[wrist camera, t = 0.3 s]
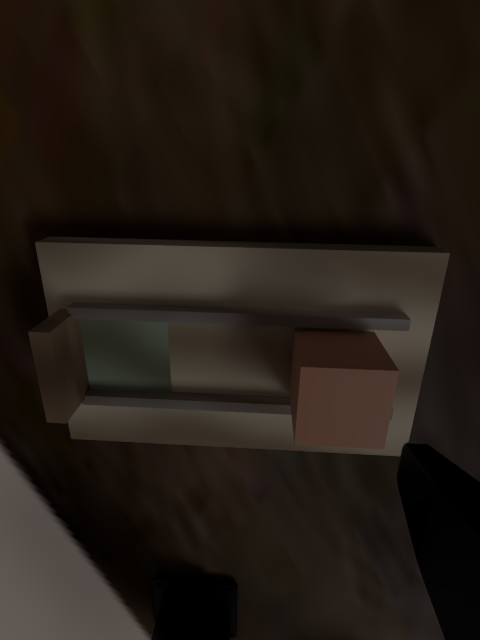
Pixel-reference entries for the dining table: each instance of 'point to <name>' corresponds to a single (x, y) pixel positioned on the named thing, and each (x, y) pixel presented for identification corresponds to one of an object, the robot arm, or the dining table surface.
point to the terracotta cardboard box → (341, 388)
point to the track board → (218, 333)
